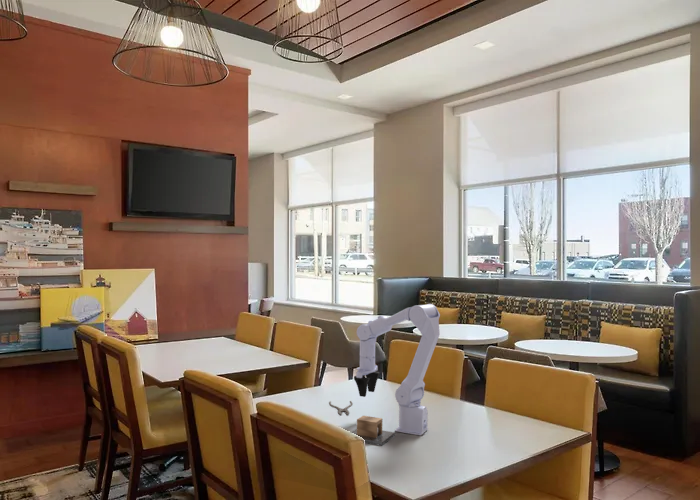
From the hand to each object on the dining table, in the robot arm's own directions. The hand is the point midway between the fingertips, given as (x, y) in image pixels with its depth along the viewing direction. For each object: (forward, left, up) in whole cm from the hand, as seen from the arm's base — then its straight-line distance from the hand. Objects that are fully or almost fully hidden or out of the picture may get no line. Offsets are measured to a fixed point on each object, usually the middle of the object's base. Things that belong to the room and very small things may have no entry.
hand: (367, 393), depth 197 cm
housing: (-9, +17, -8) cm, 21 cm away
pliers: (+14, -10, -10) cm, 20 cm away
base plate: (-9, +17, -9) cm, 21 cm away
